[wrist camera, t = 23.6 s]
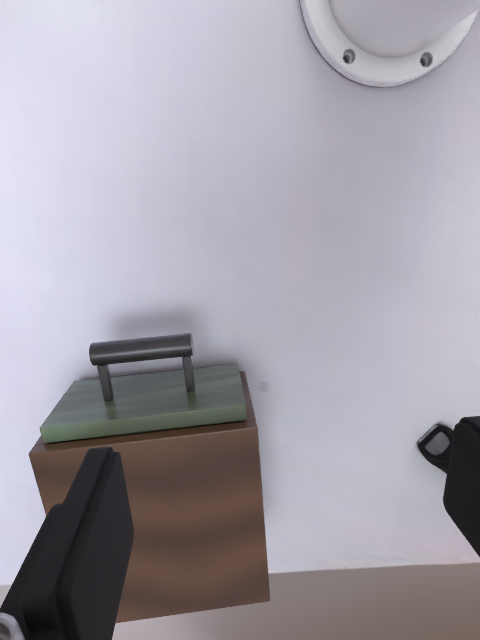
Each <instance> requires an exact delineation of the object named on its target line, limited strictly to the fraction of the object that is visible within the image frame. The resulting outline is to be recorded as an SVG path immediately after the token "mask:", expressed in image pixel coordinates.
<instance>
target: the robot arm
mask: <svg viewBox="0 0 480 640" xmlns="http://www.w3.org/2000/svg"><path fill="white" fill-rule="evenodd" d="M300 4H301V8H302V12H303V17H304V21H305V24H306V27H307V29H308V31H309V34H310V36H311V39H312V41H313V43H314V44H315V46H316V47H317V49H318V50H319V52H320V53H321V55H322V56H323V58H324V59H325V60H326V61H327V62H328V63H329V64H330V65H331V66H332V67H333V68H334V69H335V70H337V71H338V72H340V73H341V74H343V75H344V76H345V77H347V78H348V79H351V80H353V81H356V82H358V83H361V84H363V85H369V86H375V87H389V86H398V85H401V84H404V83H408V82H411V81H413V80H415V79H417V78H419V77H421V76H423V75H425V74H427V73H428V72H430V71H431V70H433V69H434V68H436V67H437V66H439V65H440V64H441V63H442V62H443V61H445V60H446V59H447V58H448V57H449V56H450V55H451V54H452V53H453V52H454V51H455V50H456V48H457V47H458V46H459V44H460V43H461V42H462V40H463V39H464V38H465V36H466V35H467V33H468V31H469V30H470V28H471V26H472V24H473V22H474V20H475V18H476V16H477V14H478V11H479V9H480V0H300ZM343 57H346V58H347V59H348V63H345V62H344V60H343ZM420 61H422V65H421V63H420ZM443 502H444V507H445V509H446V511H447V513H448V514H449V516H450V517H451V518H452V520H453V521H454V523H455V524H456V525H457V527H458V528H459V529H460V531H461V532H462V534H463V535H464V536H465V538H466V539H467V540H468V542H469V543H470V544H471V546H472V547H473V549H474V550H475V551H476V553H477V554H478V555H479V557H480V416H475V417H464V418H462V419H461V420H460V422H459V423H458V424H456V425H455V428H454V433H453V440H452V446H451V452H450V458H449V465H448V471H447V477H446V484H445V490H444V496H443ZM133 539H134V527H133V521H132V516H131V510H130V504H129V499H128V493H127V488H126V482H125V476H124V471H123V465H122V459H121V454H120V452H114V451H113V448H112V447H100V448H90V449H89V450H88V451H87V453H86V455H85V458H84V460H83V462H82V464H81V466H80V468H79V470H78V472H77V474H76V477H75V479H74V481H73V483H72V485H71V487H70V489H69V491H68V494H67V496H66V498H65V500H64V502H63V503H61V504H55V505H54V506H52V508H51V509H50V511H49V512H48V514H47V516H46V518H45V520H44V522H43V524H42V526H41V528H40V530H39V532H38V534H37V536H36V538H35V540H34V542H33V544H32V546H31V548H30V550H29V552H28V554H27V556H26V558H25V560H24V562H23V564H22V566H21V568H20V570H19V572H18V574H17V576H16V578H15V580H14V582H13V584H12V586H11V588H10V590H9V592H8V594H7V596H6V598H5V600H4V602H3V604H2V606H1V608H0V640H112V636H113V631H114V627H115V622H116V618H117V613H118V609H119V604H120V600H121V595H122V591H123V586H124V581H125V577H126V572H127V568H128V563H129V559H130V554H131V550H132V545H133Z"/></svg>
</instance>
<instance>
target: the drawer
mask: <svg viewBox="0 0 480 640" xmlns="http://www.w3.org/2000/svg"><path fill="white" fill-rule="evenodd" d="M192 355H193V340H192V335H191V333H188V334H178V335H169V336H159V337H149V338H139V339H129V340H119V341H109V342H99V343H92V344H91V345H90V349H89V356H90V361H91V363H92V365H94V366H97V365H98V366H97V369H98V373H99V378H100V379H91V380H81V381H74V382H73V383H72V385H71V386H70V387H69V389H68V390H67V392H66V393H65V394H64V396H63V397H62V398H61V400H60V401H59V402H58V404H57V405H56V407H55V408H54V409H53V411H52V412H51V413H50V415H49V416H48V417H47V419H46V420H45V422H44V423H43V424H42V426H41V427H40V431H41V435H42V439H43V442H44V443H52V442H61V441H69V440H72V441H80V440H89V439H98V438H107V437H115V436H124V435H133V434H141V433H150V432H159V431H167V430H176V429H185V428H194V427H202V426H211V425H220V424H228V423H235V421H244V420H247V414H246V404H245V399H244V393H243V388H242V383H241V378H240V373H239V368H238V364H232V365H223V366H213V367H204V368H194V369H193V367H192V359H191V356H192ZM174 357H182V359H183V367H184V370H175V371H166V372H157V373H147V374H138V375H128V376H119V377H110V374H109V369H108V364H116V363H126V362H136V361H145V360H155V359H164V358H174ZM72 441H71V442H72Z"/></svg>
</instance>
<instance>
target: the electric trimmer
mask: <svg viewBox="0 0 480 640" xmlns="http://www.w3.org/2000/svg"><path fill="white" fill-rule="evenodd" d="M436 425H437V424H436ZM436 425H434V428H433V429H431V430H429V431H428V434H426V435H425V436H423V437H422V438H421V439H420V441H419V445H418V447H419V449H420V451H421V453H422V455H423V456H424V457H425V458H426V459H427V460H428V461H429V462H430V463H431V464H433V465H434V466H436V467H438V468H440V469H441V470H442V471H444V472H445V473H446V474H447V471H448V465H449V458H450V452H451V446H452V440H453V433H454V431H453V430H451V429H450V428H448V427H445V426H442V425H437V426H436Z"/></svg>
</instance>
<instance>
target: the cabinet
mask: <svg viewBox="0 0 480 640" xmlns="http://www.w3.org/2000/svg"><path fill="white" fill-rule="evenodd" d="M239 373H240V378H241V383H242V388H243V393H244V399H245V404H246V414H247V420H244V421H235V423H228V424H220V425H211V426H202V427H194V428H185V429H176V430H167V431H159V432H150V433H141V434H133V435H124V436H115V437H107V438H98V439H89V440H80V441H72V440H69V441H61V442H52V443H44V442H43V439H42V435H41V437H40V438H39V440H38V441H37V442H36V444H35V446H34V447H33V448H32V450H31V451H30V453H29V457H30V461H31V464H32V468H33V471H34V475H35V478H36V482H37V485H38V489H39V492H40V496H41V499H42V503H43V506H44V509H45V513H46V516H47V514H48V512H49V511H50V509H51V508H52V506H54V505H55V504H61V503H63V502H64V500H65V498H66V496H67V494H68V491H69V489H70V487H71V485H72V483H73V481H74V479H75V477H76V474H77V472H78V470H79V468H80V466H81V464H82V462H83V460H84V458H85V455H86V453H87V451H88V450H89V449H90V448H100V447H112V448H113V451H114V452H120V454H121V459H122V465H123V471H124V476H125V482H126V488H127V493H128V499H129V504H130V510H131V516H132V521H133V527H134V539H133V545H132V550H131V554H130V559H129V563H128V568H127V572H126V577H125V581H124V586H123V591H122V595H121V600H120V604H119V609H118V613H117V618H116V622H115V623H120V622H127V621H134V620H140V619H148V618H155V617H162V616H169V615H176V614H183V613H190V612H197V611H204V610H211V609H218V608H225V607H232V606H239V605H246V604H253V603H259V602H267V601H270V592H269V580H268V579H269V578H268V565H267V551H266V537H265V524H264V510H263V496H262V482H261V469H260V455H259V441H258V428H257V423H256V419H255V414H254V410H253V406H252V401H251V397H250V392H249V388H248V384H247V379H246V375H245V372H239ZM71 441H72V442H71Z"/></svg>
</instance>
